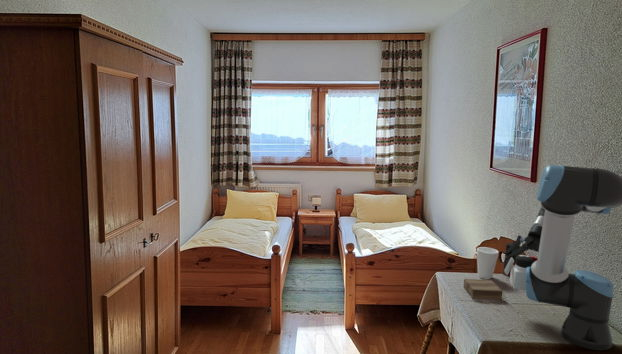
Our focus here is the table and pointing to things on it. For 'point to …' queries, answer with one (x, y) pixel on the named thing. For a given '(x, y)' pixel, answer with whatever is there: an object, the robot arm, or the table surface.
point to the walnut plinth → (482, 289)
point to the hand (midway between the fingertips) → (519, 277)
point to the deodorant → (507, 258)
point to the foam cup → (486, 262)
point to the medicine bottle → (520, 272)
